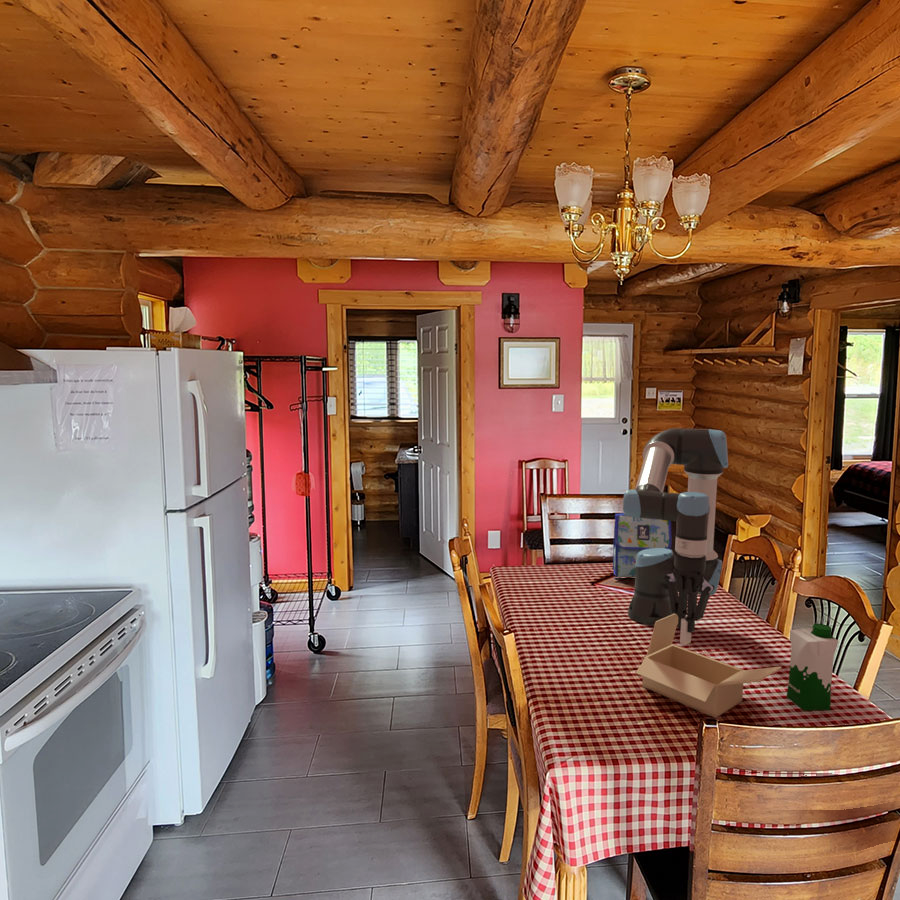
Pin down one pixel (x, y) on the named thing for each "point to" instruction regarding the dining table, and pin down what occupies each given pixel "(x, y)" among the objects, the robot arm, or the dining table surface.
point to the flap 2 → (750, 676)
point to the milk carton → (811, 667)
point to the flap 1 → (663, 633)
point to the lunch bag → (637, 541)
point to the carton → (691, 679)
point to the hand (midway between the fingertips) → (685, 642)
